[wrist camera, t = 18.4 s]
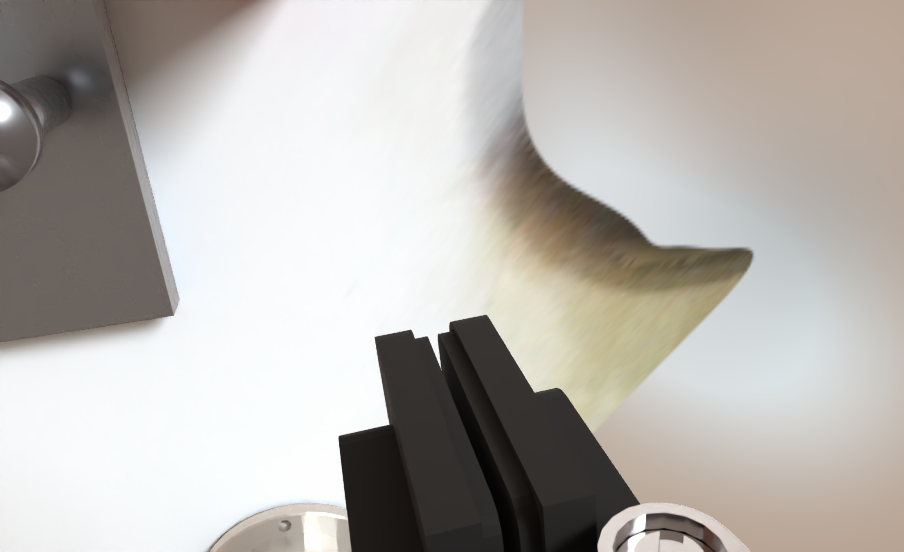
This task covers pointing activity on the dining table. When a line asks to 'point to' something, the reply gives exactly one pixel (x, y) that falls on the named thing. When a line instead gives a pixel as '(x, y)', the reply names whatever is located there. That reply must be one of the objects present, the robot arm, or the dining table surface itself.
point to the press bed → (72, 179)
